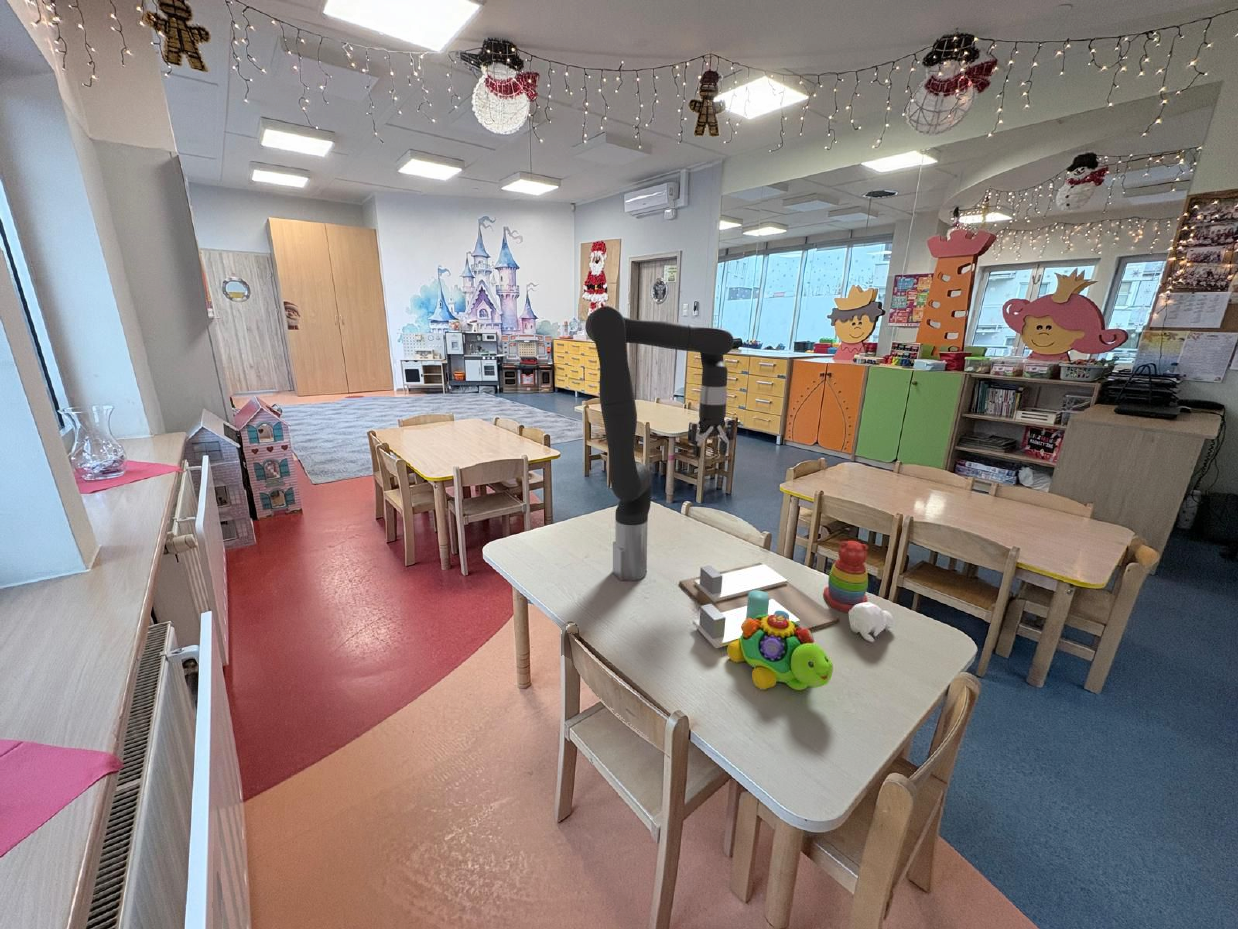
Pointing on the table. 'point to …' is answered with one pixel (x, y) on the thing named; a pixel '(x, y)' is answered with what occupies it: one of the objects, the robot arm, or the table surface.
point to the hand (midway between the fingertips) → (709, 456)
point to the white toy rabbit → (869, 619)
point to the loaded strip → (728, 623)
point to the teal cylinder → (757, 604)
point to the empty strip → (737, 581)
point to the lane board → (784, 594)
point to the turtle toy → (781, 653)
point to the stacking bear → (848, 577)
